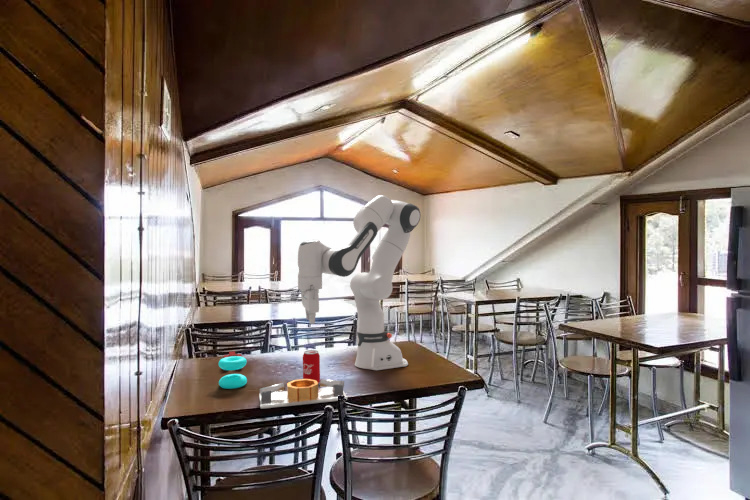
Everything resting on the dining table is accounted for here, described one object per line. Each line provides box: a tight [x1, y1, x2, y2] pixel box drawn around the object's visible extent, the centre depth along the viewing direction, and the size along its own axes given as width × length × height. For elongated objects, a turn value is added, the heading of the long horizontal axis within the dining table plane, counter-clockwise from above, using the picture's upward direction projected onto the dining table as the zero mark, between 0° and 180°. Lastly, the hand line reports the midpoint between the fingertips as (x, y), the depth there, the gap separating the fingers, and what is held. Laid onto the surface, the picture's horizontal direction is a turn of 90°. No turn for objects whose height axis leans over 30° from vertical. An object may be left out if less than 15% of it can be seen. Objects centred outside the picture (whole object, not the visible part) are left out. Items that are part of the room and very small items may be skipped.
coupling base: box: [258, 378, 348, 410], centre depth 159 cm, size 28×12×6 cm, turn 105°
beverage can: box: [302, 349, 321, 384], centre depth 174 cm, size 6×6×12 cm
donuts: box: [217, 356, 248, 390], centre depth 174 cm, size 10×10×10 cm
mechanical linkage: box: [223, 351, 243, 370], centre depth 202 cm, size 16×7×5 cm, turn 19°
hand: (310, 321), depth 174 cm, fingers open, 8 cm apart
